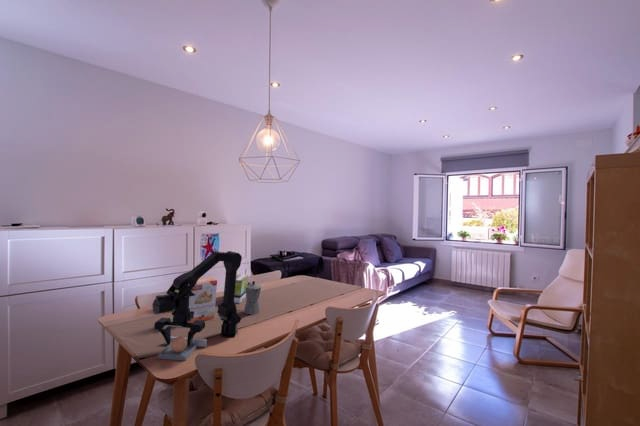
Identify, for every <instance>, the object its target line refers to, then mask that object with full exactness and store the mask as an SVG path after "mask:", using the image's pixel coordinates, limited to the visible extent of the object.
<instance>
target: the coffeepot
mask: <svg viewBox="0 0 640 426" xmlns="http://www.w3.org/2000/svg"><path fill="white" fill-rule="evenodd" d="M255 283H256V281H252V282H248V284H247V285H246V287H245V288H246V297H245V298H246V301H245V304H244V305H245V306H244V309H243V313H244V314H245V313H246V314H245V315H248V314H255V315H258V314H260V305H259V298H260V294H261V289H262V285H259V284H255ZM257 313H258V314H257Z"/></svg>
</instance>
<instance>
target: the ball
mask: <svg viewBox="0 0 640 426" xmlns="http://www.w3.org/2000/svg"><path fill="white" fill-rule="evenodd" d="M176 337H177V338H175V339H174V340H173V341H172V343H171V349H172V351H173V352H176V353H179V352H182V351H183V350H184V349H185V348H186V346H187V341H186V339H185V338H186V337H183V336H176Z"/></svg>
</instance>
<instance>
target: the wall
mask: <svg viewBox="0 0 640 426" xmlns="http://www.w3.org/2000/svg"><path fill="white" fill-rule="evenodd" d="M177 337H178V336H171V340H170V343H171V342H172V341H173V340H174V339H175V338H177ZM184 338H185V339H186V341H187V343H188V337H184ZM207 342H208V339H206V338H194V337H193V339H192V341H191V343H195V344H197V348H198V347H203V348H206V347H207ZM164 345H168V344H167V342H166V340H165V339H164Z"/></svg>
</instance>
